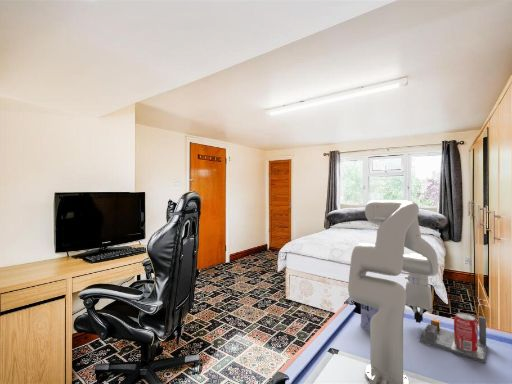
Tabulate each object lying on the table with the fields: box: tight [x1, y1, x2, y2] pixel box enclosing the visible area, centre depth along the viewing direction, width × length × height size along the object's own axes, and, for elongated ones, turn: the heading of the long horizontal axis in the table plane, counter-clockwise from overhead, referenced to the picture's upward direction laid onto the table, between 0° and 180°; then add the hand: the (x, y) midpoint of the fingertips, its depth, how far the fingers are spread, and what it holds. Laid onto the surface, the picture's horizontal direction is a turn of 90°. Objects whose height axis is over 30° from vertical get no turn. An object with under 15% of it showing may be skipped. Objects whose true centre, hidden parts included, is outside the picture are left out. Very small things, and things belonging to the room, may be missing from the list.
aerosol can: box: [360, 304, 379, 332], centre depth 118 cm, size 8×8×20 cm
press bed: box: [418, 315, 487, 364], centre depth 104 cm, size 16×20×11 cm
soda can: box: [453, 312, 479, 352], centre depth 99 cm, size 7×7×12 cm
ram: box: [425, 318, 441, 342], centre depth 109 cm, size 15×3×4 cm, turn 137°
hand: (418, 321), depth 118 cm, fingers closed
